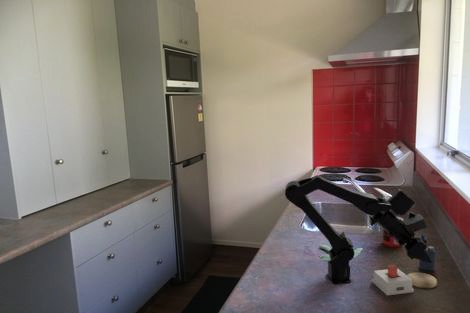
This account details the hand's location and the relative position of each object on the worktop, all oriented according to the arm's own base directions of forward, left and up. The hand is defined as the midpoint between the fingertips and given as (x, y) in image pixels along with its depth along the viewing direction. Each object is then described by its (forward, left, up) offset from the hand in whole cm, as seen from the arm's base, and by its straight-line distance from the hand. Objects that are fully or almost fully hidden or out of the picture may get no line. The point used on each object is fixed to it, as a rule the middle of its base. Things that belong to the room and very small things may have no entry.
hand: (426, 257), depth 122 cm
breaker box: (-12, -1, -9) cm, 15 cm away
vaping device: (+6, +9, -9) cm, 14 cm away
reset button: (-12, -1, -6) cm, 14 cm away
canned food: (+7, +31, -9) cm, 33 cm away
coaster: (-1, 0, -9) cm, 9 cm away
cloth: (-17, +30, -9) cm, 36 cm away
